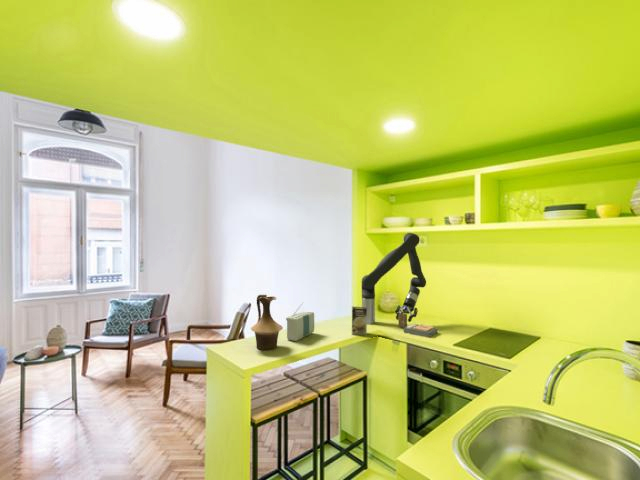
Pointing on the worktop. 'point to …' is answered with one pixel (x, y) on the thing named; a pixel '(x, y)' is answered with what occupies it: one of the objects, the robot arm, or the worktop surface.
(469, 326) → the worktop surface
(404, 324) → the reddish brown block
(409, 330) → the keypad
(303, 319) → the stereo radio cassette player
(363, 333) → the coffee box
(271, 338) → the pitcher
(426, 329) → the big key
